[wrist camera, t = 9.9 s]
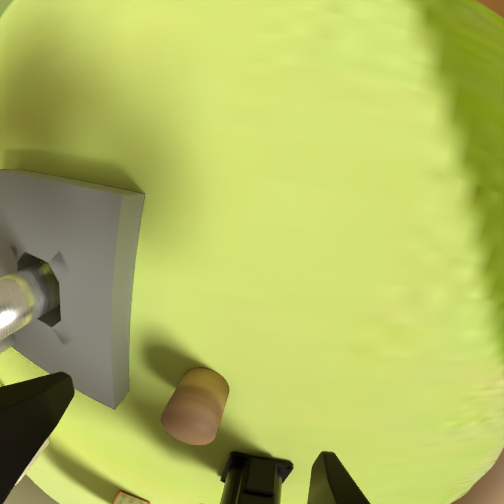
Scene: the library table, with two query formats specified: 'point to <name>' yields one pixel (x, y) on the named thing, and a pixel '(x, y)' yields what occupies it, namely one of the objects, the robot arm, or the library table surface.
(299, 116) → the library table surface
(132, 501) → the cracker box
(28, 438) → the robot arm
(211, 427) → the short pin
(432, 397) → the library table surface
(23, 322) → the long pin
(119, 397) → the grey peg base
